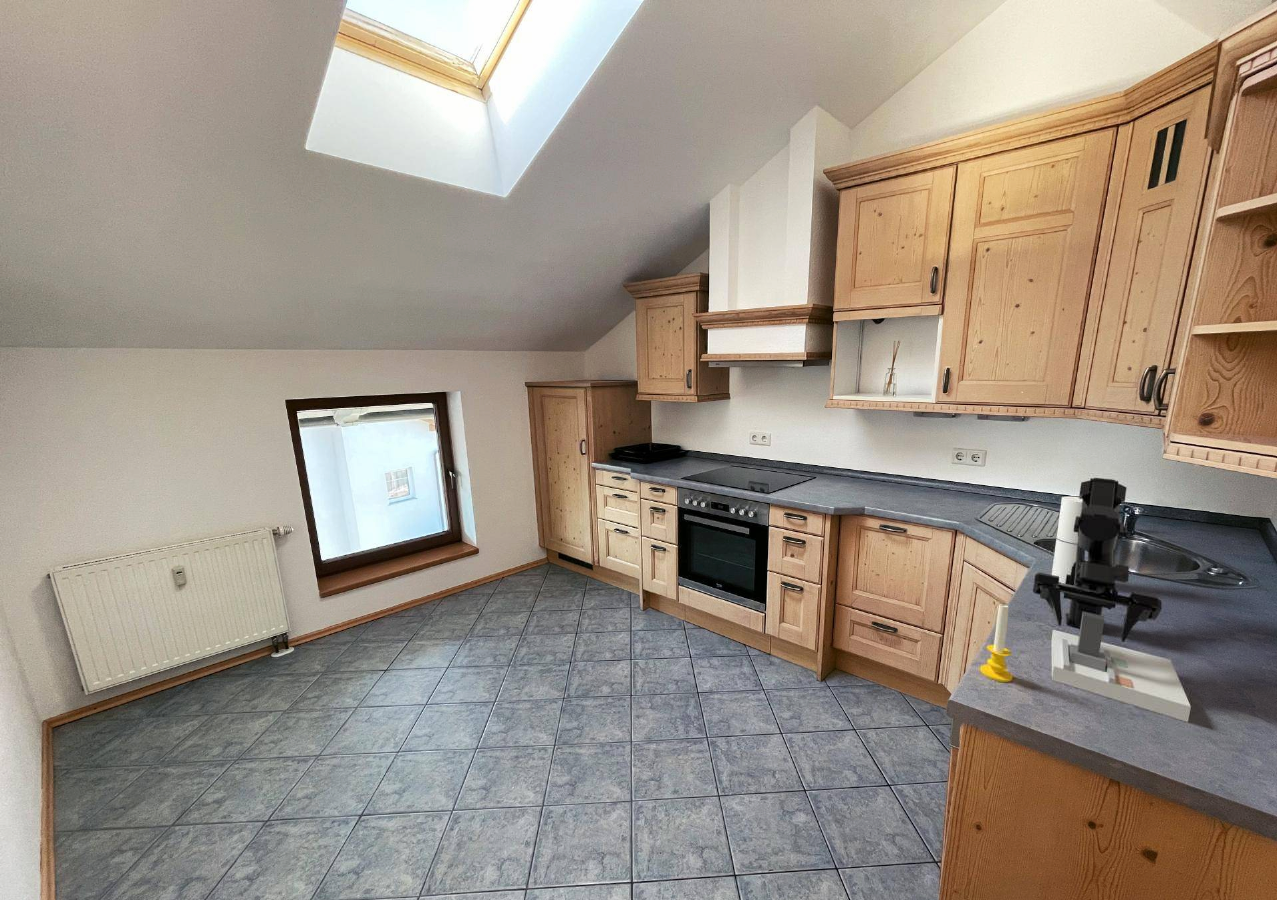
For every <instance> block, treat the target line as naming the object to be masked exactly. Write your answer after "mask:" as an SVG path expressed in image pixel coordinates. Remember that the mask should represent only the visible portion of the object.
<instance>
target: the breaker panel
mask: <svg viewBox="0 0 1277 900" xmlns="http://www.w3.org/2000/svg"><path fill="white" fill-rule="evenodd" d="M1078 640H1079V635H1077V634H1076V635H1075V634H1072V633H1067V632H1064V631H1061V630H1060V631H1059V630H1056V629H1052V635H1051V641H1050V643H1051V644H1050V645H1051V680H1052V681H1055V682H1057V683H1061V684H1064V685H1066V686H1070V687H1072V688H1073V687H1074V688H1076V689H1079V690H1083V691H1086V692H1090V693H1093V694H1096V695H1099V696H1102V697H1105V698H1109V699H1112V700H1115V701H1118V702H1121V703H1125V704H1128V705H1131V706H1134V707H1138V708H1141V709H1145V710H1148V711H1151V712H1153V713H1157V714H1161V715H1164V716H1167V717H1170V718H1174V719H1175V720H1180V721H1183V722H1187V723H1188V722H1189V717H1190V712H1191V704H1190V702H1189V699H1188V697H1187V694H1186V693H1185V690H1184V688H1183V685H1182V683H1181V681H1180V679H1179V676H1178V674H1177V672H1176V669H1175V667H1174V665H1173V662H1172V661H1171V659H1168V658H1165V657H1160V656H1158V655H1153V654H1149V653H1147V652H1146V653H1145V652H1142V651H1137V650H1133V649H1130V648H1125V647H1122V646H1118V645H1113V644H1111V643H1106V642H1102V641H1101V645H1100V652H1103V653H1104V654H1105V659H1106V666H1105V671H1102V670H1098V669H1095V668H1091V667H1088V666H1084V665H1081V664H1077V663H1074V662H1070V654H1069V652H1070V645H1071V644H1073V645H1077V646H1078Z"/></svg>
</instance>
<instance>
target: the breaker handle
mask: <svg viewBox="0 0 1277 900" xmlns="http://www.w3.org/2000/svg"><path fill="white" fill-rule="evenodd" d="M1104 625H1105V618H1104V615H1102V616H1101V615H1096V614H1092V613H1088V612H1083V613H1082V620H1081V627H1080V628H1079V635H1078V636H1079V640H1078V646H1077V645H1073V644H1071V645H1070V652H1069V654H1070V662H1074V663H1077V664H1081V665H1084V666H1088V667H1091V668H1095V669H1098V670H1102V671H1105V666H1106V659H1105V654H1104V653H1103V652H1100V645H1101V642H1102V638H1103V633H1104ZM1102 632H1103V633H1102Z"/></svg>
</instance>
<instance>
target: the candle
mask: <svg viewBox="0 0 1277 900" xmlns="http://www.w3.org/2000/svg"><path fill="white" fill-rule="evenodd" d="M1008 619H1009V606H1008V605H1005V604H999V605H998V610H997V617H996V624H995V625H996V626H995V635H994V641H993V644H989V645H988V644H987V646H986V648H987V650H988V651H989V652H991V654H990V658H988V659H987V662H986V663H985V664H982V665H981V666H980V669H979V670H980V672H981V673H982V675H984V676H985V677H987V678H989V679H991V680H992V681H997V682H1002V683H1010V682H1011V681H1012V680H1013V675H1012V673H1010V672H1009V671H1008V670H1007V669H1008V665H1007V663H1006V662H1005V661H1006V658H1005V657H1008V656H1011V655H1012V652H1011V651H1010V650H1009V649H1008V648H1006V647H1005V645H1006V637H1007V628H1008Z"/></svg>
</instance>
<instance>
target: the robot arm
mask: <svg viewBox="0 0 1277 900" xmlns="http://www.w3.org/2000/svg"><path fill="white" fill-rule="evenodd" d="M1089 479H1090V480H1086V481H1081V483H1080V489H1079V495H1078V497H1079V499H1082V510H1081V516H1080V517H1079V516H1076V520H1075V524H1074V532H1078V543H1077V553H1076V562H1075V563H1074V564H1073V566H1072V569H1071V575H1068V574H1067V576H1066V582H1065V584H1064V583H1059V576H1055V575H1052V574H1049V573H1044V572H1039V571H1038V572H1036V573H1035V575H1034V580H1033V588H1032V593H1034V594H1035V595H1039V597H1040V599H1043V600H1045V601H1046V603H1047V604H1048V606H1049V608H1050V609H1051V611H1052V614H1053V616H1054V620H1055V621H1056V624H1057V626H1058V627H1061V626H1062V620H1063V618H1062V617H1063V615H1062V605H1061V604H1062V603H1061V593H1063V599H1067V600H1070V603H1069V607H1068V608H1069V610H1068V613H1067V612H1066V613H1065V624H1066V625H1067V626H1070V627H1074V628H1078V629H1080V627H1081V620H1082V613H1083V612H1088V613H1092V614H1096V615H1101V616H1103V608H1105V609H1108V610H1112V609H1116V605H1119V606H1123V607H1126V613H1125V614H1124V618H1123V624H1122V627H1121V628H1122V629H1121V633H1120V642H1121V643H1125V642H1126V639H1127V638H1128V636H1129V634H1130V633H1131V631H1132V629H1133V628H1134V626H1135V625H1137V624H1138V622H1142V623H1143V622H1145V623H1146V622H1147V620H1150V621H1152V620H1153V621H1154V620H1156V619H1157V618H1158V616H1159V615H1160V613H1161V611H1162V608H1163V607H1162V606H1163V605H1162V603H1163V602H1162V600H1161V599H1160V597H1158V596H1157V595H1154V594H1147V593H1143V592H1140V591H1139V592H1138V591H1134V590H1132V591H1131V593H1130V595H1129V596H1127V595H1121V594H1119V591H1118V590H1117V589H1116V582H1119V583H1124V584H1126V583H1128V582H1129V577H1130V575H1129V574H1130V567H1129V566H1128V565H1123V564H1115V565H1114V550H1115V549H1116V545H1117V540H1121V541H1122V540H1123V538H1124V539H1125V538H1127V537H1128V536H1127V535H1128V529H1127V528H1126V527H1125V524H1124V522H1120V520H1121V519H1120V516H1121V515H1120V513H1119V510H1120V506H1121V505H1123V506H1124V505H1125V502H1126V496H1127V490H1128V489H1127V486H1124V485H1123V484H1120V483H1119V480H1116V479H1113V478H1111V479H1110V478H1101V477H1093V478H1091V477H1090V478H1089ZM1102 634H1104V631H1103V632H1102Z"/></svg>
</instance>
